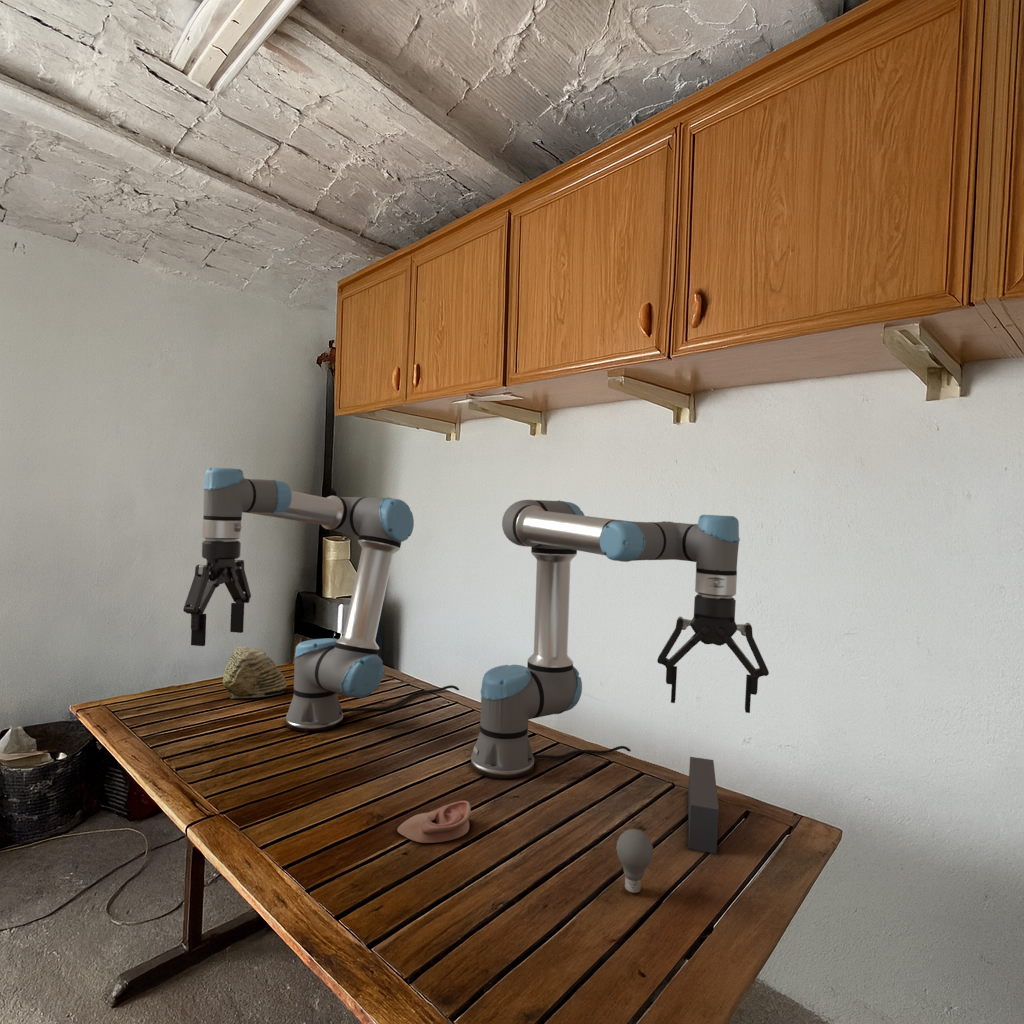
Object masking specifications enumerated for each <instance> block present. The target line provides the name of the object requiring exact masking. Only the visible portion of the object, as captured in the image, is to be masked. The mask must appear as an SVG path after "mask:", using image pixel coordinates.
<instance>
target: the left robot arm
mask: <svg viewBox="0 0 1024 1024" xmlns="http://www.w3.org/2000/svg"><path fill="white" fill-rule="evenodd" d="M203 483H204V484H203V489H202V490H203V511H202V512H203V514H202V515H203V517H202V518H203V519H202V530H201V531H202V535H201V537H202V538H203V539H204V540H203V541H202V543H201V545H202V546H201V556H202V558H203V559H205V560H206V563H205V564H196V565H195V569H194V576H193V579H192V583H191V585H190V588H189V591H188V594H187V597H186V600H185V602H184V605H183V612H184V613H185V614H189V615H190V631H191V632H190V646H193V647H194V646H196V647H205V646H206V637H207V634H206V633H207V613H204V612H205V610H206V609H207V607H208V604H209V603H210V600H211V598H212V596H213V594H214V593H215V590H216V589H217V588H219V587H220V585H223V584H224V585H225V587H226V589H227V591H228V593H229V594H230V597H231V599H232V600H233V602H231V603H230V625H229V626H230V627H229V628H230V629H229V632H230V633H239V634H243V633H244V624H245V621H244V620H245V604H250V601H251V598H252V593H251V590H250V586H249V582H248V578H247V575H246V569H245V560H243V559H239V558H241V549H242V547H241V546H242V543H241V542H240V539H241V537H242V520H243V519H242V518H243V513H244V514H245V513H246V514H252V515H259V516H265V517H269V518H270V517H271V518H276V519H284V520H289V521H297V522H303V523H308V524H315V525H321V527H322V528H323V529H325V530H329V531H330V530H331V531H334V532H339V533H342V534H346V535H350V536H353V537H356V538H358V539H357V543H358V544H359V545H360V547H361V552H360V557H359V561H358V566H357V569H356V570H357V571H356V574H355V580H354V584H353V589H352V594H351V598H350V603H349V607H348V612H347V617H346V622H345V625H344V629H343V634H342V636H341V637H340V638H335V637H334V638H331V637H329V638H315V639H308V640H304V641H301V642H299V643H298V644H297V645H296V646H295V652H294V656H293V659H294V661H293V662H294V668H293V669H294V670H293V695H292V696H293V697H292V699H291V702H290V704H289V707H288V711H287V713H286V715H285V726H286V728H287V729H289V730H291V731H294V732H295V731H296V732H301V733H316V732H325V731H329V730H332V729H335V728H337V727H339V726H340V725H342V723H343V722H344V713H346V712H367V711H384V710H389V709H393V708H396V707H398V706H399V705H401V704H403V703H404V702H406V701H408V700H410V699H412V698H413V697H416V696H419V695H423V694H424V695H425V694H431V693H437V692H441V691H444V690H447V689H454V690H456V691H460V688H459V687H458V686H456V685H452V684H451V685H446V686H443V687H439V688H434V689H429V690H428V689H426V690H421V691H417V692H414V693H411V694H408V695H407V696H406V697H404V698H402V699H400V700H399V701H397V702H395V703H393V704H390V705H385V706H375V707H374V706H373V707H348V708H342V706H341V702H340V699H339V695H343V696H344V697H346V698H355V699H365V698H367V697H369V696H370V695H372V694H373V692H374V691H376V690H377V688H378V687H379V686H380V684H381V682H382V680H383V677H384V674H385V664H384V662H383V660H382V658H381V657H380V656H379V652H380V646H379V645H378V643H377V642H376V640H377V639H376V638H377V633H378V629H379V625H380V624H379V623H380V621H381V620H380V619H381V616H382V615H381V614H382V610H383V605H384V600H385V595H386V590H387V585H388V582H389V576H390V571H391V567H392V562H393V558H394V555H395V553H397V552H399V551H400V550H401V547H402V542H405V541H406V540H408V539H409V537H411V535H412V533H413V531H414V527H415V520H414V515H413V512H412V510H411V507H410V506H409V504H407V502H406V501H404V500H402V499H399V498H393V497H389V496H388V497H374V496H373V497H370V496H338V495H329V496H326V497H323V496H319V495H313V494H309V493H304V492H299V491H294V490H292V489H291V487H290V485H289V484H288V483H287V482H285V481H283V480H277V479H261V478H260V479H259V478H258V479H257V478H245V476H244V471H243V470H242V469H241V468H231V467H209V468H207V470H206V471H205V475H204V481H203ZM338 694H339V695H338ZM343 712H344V713H343Z"/></svg>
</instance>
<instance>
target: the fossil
mask: <svg viewBox="0 0 1024 1024" xmlns="http://www.w3.org/2000/svg"><path fill="white" fill-rule="evenodd" d="M222 676H223V677H222V685H223V687H224V688H225V690H226V691H228V693H229V698H230V699H250V698H264V697H271V696H275V695H281V694H284V693H285V691H286V689H287V687H288V686H287V680H286V678H285V676H284V674H283V673H282V672H281V669H279V668H278V667H277V665H276V663H275V662H274V660H273V659H272V658H271V657H270V656H269V655H268V654H267V653H266V652H265V650H264V649H263V648H260V647H258V648H251V647H247V646H246V647H245V646H238V647H237V648H236V649H235V650H233V651H232V653H231V656H230V657H229V659H228V660H227V663H226V666H225V668H224V671H223V675H222Z"/></svg>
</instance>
